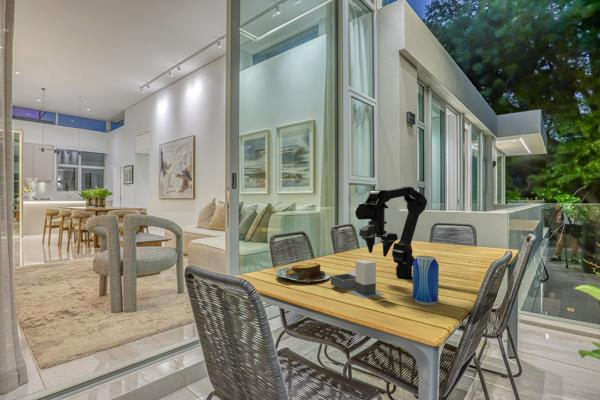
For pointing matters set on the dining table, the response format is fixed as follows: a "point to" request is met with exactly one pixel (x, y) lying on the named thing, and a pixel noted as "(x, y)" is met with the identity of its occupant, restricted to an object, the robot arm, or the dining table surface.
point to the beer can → (425, 280)
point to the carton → (344, 280)
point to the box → (365, 277)
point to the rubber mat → (366, 295)
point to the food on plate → (303, 273)
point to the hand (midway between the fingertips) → (377, 254)
